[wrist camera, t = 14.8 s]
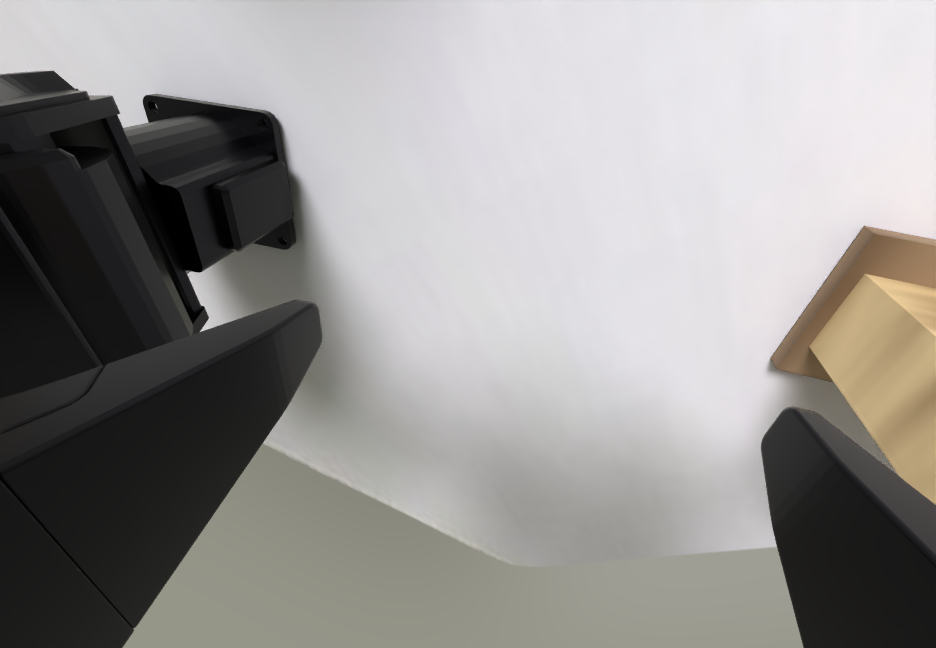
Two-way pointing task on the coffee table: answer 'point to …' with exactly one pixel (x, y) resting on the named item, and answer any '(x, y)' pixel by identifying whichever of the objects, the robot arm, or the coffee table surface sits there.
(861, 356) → the oak T block
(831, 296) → the walnut T outline
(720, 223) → the coffee table surface
